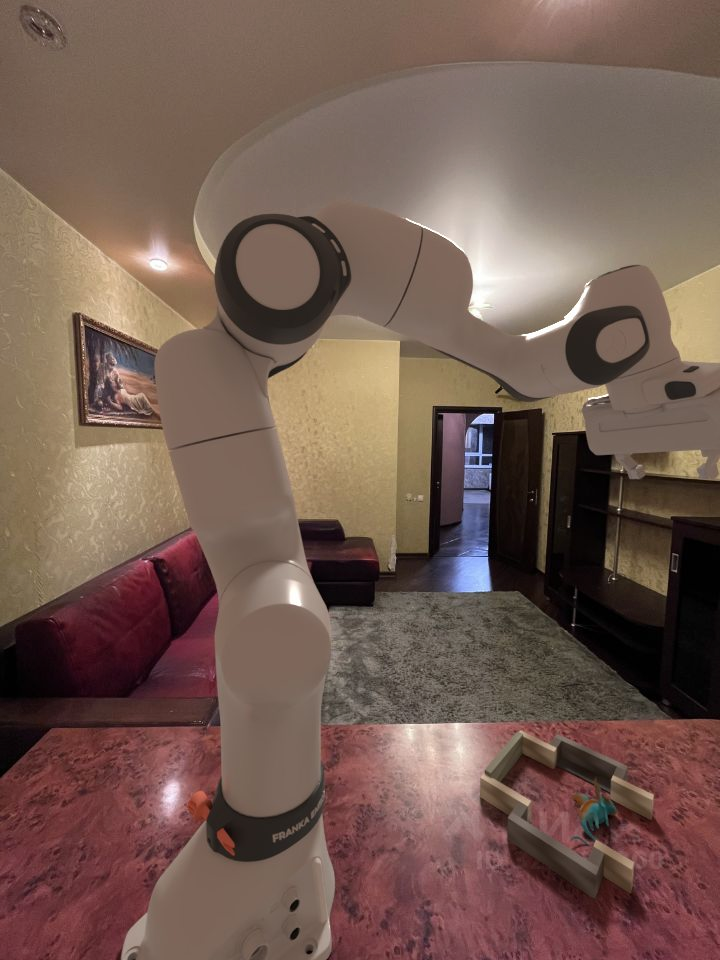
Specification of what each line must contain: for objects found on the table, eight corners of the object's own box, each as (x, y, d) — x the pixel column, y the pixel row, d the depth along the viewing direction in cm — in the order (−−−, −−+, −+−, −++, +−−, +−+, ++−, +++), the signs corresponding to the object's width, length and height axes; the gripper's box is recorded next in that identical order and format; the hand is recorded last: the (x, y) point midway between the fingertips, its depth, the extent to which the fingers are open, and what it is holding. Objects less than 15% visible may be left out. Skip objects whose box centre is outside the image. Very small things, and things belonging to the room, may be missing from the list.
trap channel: (657, 799, 60) (658, 777, 60) (623, 919, 44) (625, 889, 44) (528, 736, 73) (528, 717, 73) (467, 811, 58) (468, 788, 57)
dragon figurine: (643, 862, 50) (628, 792, 57) (584, 832, 51) (576, 766, 58) (611, 878, 53) (601, 809, 60) (557, 848, 55) (553, 785, 61)
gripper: (566, 407, 65) (591, 485, 67) (720, 379, 46) (747, 489, 48) (591, 393, 67) (615, 469, 69) (749, 361, 48) (773, 467, 50)
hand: (670, 477), depth 59 cm, fingers open, 8 cm apart
